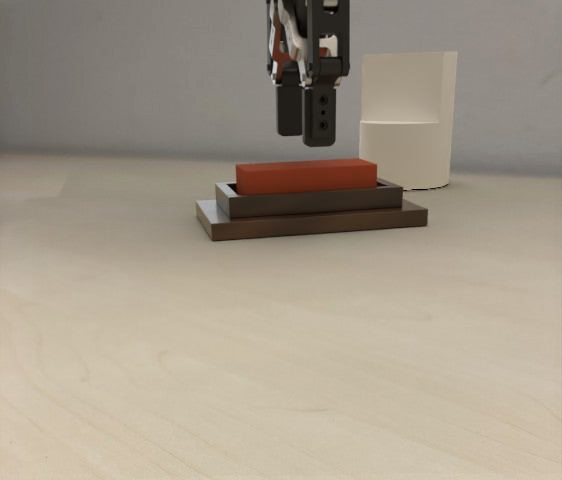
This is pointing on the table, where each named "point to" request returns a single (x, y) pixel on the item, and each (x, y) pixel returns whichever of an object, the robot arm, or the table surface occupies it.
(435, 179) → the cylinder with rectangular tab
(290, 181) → the red rectangular block
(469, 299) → the table surface
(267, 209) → the dark wooden tray
